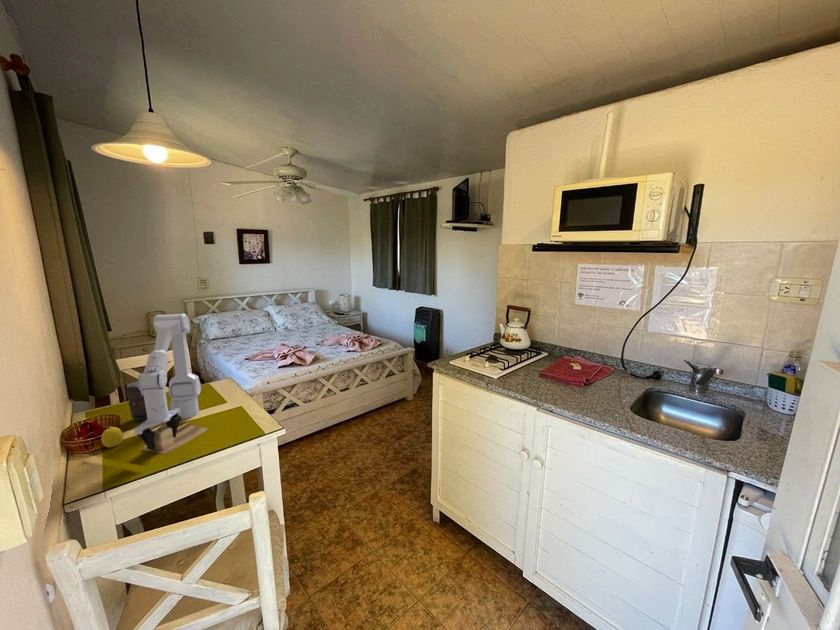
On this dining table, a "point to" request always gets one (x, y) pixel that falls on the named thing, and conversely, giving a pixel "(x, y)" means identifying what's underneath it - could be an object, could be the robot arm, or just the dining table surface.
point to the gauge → (163, 437)
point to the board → (181, 437)
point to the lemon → (112, 437)
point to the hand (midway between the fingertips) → (162, 442)
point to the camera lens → (136, 403)
